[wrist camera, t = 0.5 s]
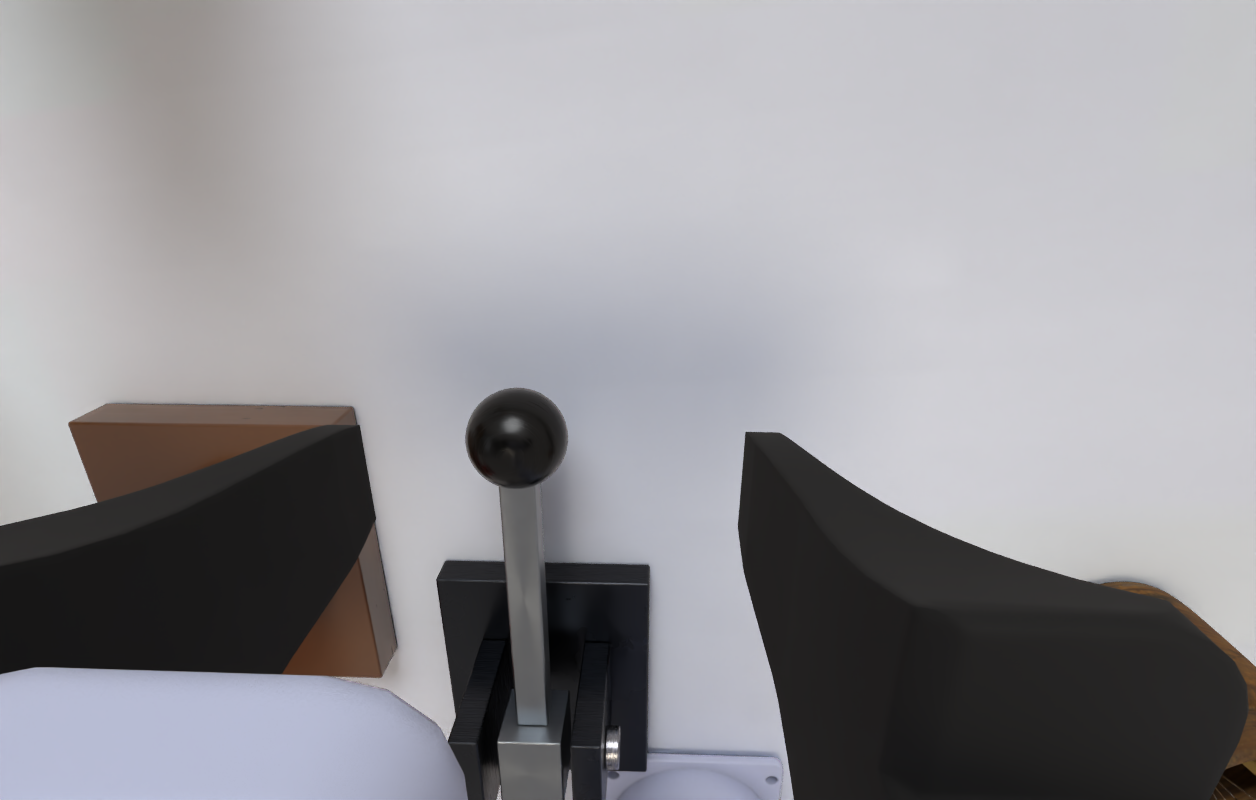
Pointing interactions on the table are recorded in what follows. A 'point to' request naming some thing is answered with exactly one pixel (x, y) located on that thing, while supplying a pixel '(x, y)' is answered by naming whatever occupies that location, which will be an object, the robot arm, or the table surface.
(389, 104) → the table surface
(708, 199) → the table surface
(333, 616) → the button block
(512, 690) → the lever
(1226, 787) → the utensil holder
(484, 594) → the bracket
